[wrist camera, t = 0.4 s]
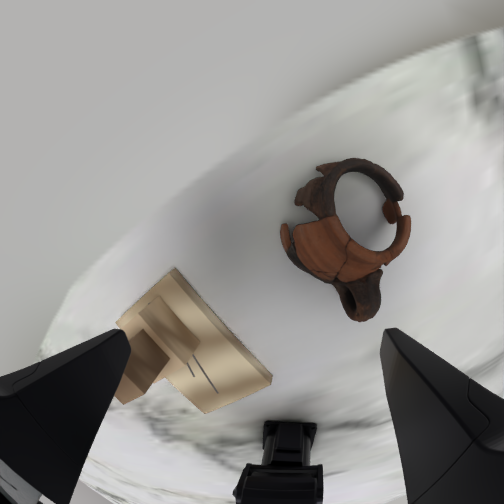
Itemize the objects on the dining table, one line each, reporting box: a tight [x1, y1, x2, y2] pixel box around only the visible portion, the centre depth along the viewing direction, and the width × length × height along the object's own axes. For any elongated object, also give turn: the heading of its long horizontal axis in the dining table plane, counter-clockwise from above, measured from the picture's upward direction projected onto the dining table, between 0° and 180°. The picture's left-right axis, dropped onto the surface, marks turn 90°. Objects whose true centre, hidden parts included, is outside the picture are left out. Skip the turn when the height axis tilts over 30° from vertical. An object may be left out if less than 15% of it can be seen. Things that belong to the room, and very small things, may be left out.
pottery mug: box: [280, 158, 411, 322], centre depth 20 cm, size 12×9×8 cm
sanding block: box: [114, 296, 200, 405], centre depth 22 cm, size 6×5×9 cm
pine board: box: [115, 268, 273, 414], centre depth 27 cm, size 15×10×2 cm, turn 40°
